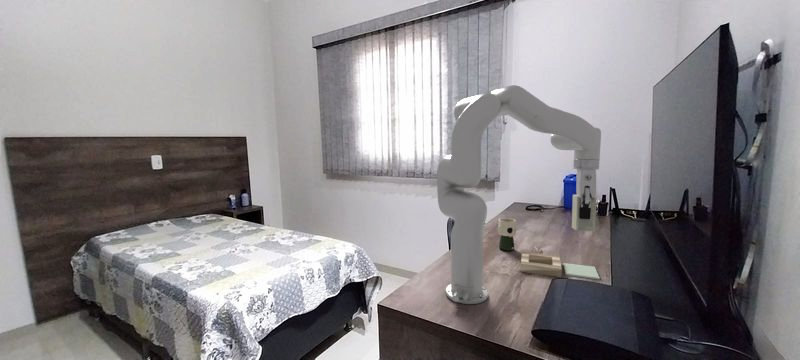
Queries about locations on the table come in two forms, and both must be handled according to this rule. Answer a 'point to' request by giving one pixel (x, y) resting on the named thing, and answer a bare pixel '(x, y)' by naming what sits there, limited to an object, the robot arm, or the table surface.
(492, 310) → the table surface
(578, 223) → the skincare box
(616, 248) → the table surface
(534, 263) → the holder block
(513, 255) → the table surface
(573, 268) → the sage mat
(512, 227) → the character mug
